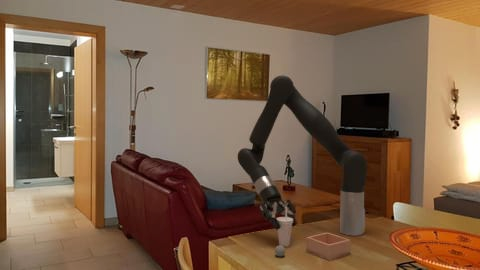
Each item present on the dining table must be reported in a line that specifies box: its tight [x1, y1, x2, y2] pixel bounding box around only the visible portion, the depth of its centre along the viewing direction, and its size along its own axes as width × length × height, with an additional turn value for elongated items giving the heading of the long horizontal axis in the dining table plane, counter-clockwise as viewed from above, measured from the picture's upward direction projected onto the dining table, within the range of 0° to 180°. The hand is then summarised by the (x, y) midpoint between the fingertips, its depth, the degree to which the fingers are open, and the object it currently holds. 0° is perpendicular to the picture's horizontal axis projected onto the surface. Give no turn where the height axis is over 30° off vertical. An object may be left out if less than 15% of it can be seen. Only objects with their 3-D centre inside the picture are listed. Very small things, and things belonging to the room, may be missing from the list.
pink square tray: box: [305, 232, 352, 261], centre depth 138 cm, size 11×11×5 cm
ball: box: [274, 245, 286, 257], centre depth 134 cm, size 4×4×4 cm
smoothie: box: [275, 207, 293, 248], centre depth 146 cm, size 6×6×14 cm
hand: (287, 226), depth 144 cm, fingers open, 7 cm apart
